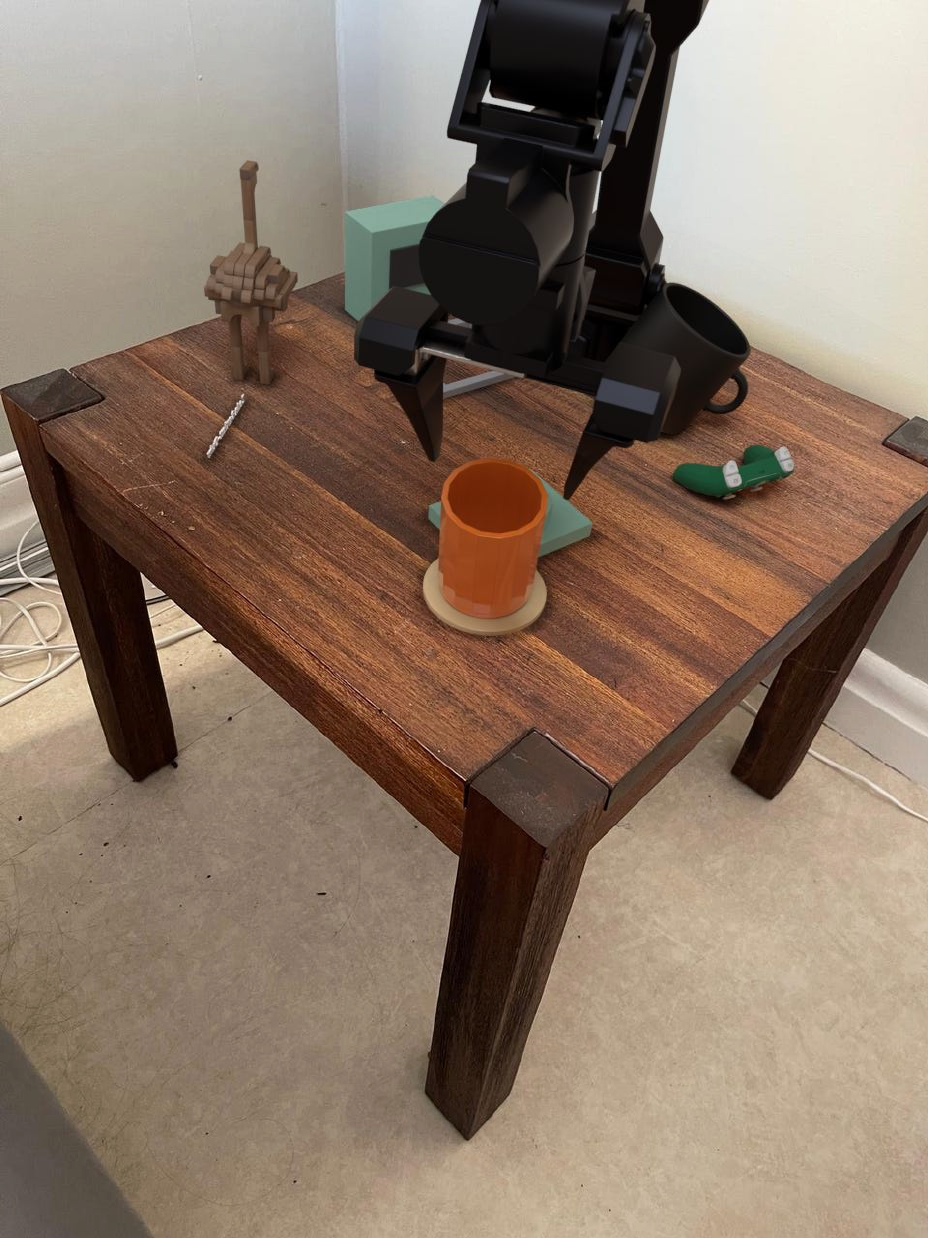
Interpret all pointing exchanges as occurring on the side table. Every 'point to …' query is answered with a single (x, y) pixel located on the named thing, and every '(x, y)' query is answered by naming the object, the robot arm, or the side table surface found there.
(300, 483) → the side table surface
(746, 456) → the gaming controller
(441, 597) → the coaster
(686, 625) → the side table surface
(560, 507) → the button base
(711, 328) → the mug
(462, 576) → the cup
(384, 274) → the mint block with tray
